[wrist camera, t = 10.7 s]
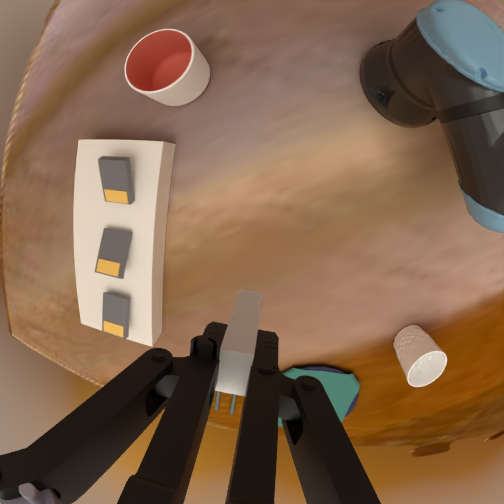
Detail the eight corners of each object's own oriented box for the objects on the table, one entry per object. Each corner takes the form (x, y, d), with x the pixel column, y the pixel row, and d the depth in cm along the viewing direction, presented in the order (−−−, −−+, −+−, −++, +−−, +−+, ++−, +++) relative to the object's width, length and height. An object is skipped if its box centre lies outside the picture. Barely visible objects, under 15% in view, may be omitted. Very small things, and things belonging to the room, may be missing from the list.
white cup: (391, 360, 49) (406, 392, 39) (389, 329, 47) (407, 360, 37) (425, 347, 47) (444, 377, 38) (425, 316, 45) (448, 344, 36)
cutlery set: (339, 427, 55) (340, 434, 53) (212, 410, 57) (210, 417, 55) (370, 365, 50) (373, 372, 47) (219, 344, 51) (217, 351, 49)
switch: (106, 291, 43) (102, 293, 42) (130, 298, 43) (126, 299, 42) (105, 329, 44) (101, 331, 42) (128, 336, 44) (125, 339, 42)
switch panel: (94, 141, 42) (74, 139, 36) (175, 144, 41) (161, 141, 35) (93, 311, 52) (78, 324, 46) (162, 332, 51) (150, 349, 45)
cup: (142, 93, 39) (111, 78, 29) (175, 45, 36) (152, 20, 27) (188, 118, 40) (164, 105, 30) (224, 67, 37) (209, 42, 27)
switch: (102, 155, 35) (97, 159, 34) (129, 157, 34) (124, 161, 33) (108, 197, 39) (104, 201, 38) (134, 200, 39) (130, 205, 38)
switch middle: (107, 229, 41) (103, 227, 39) (132, 233, 40) (129, 232, 39) (98, 272, 40) (94, 272, 38) (123, 279, 40) (119, 278, 38)
